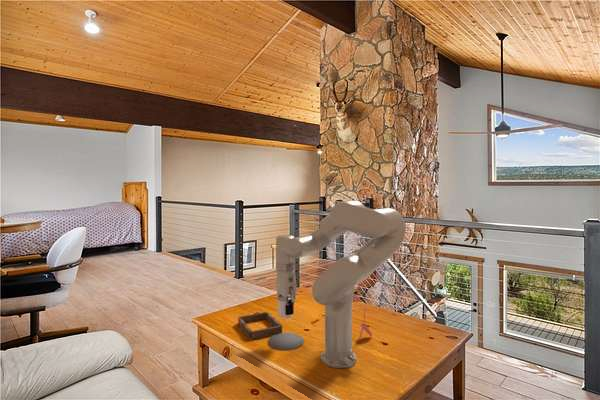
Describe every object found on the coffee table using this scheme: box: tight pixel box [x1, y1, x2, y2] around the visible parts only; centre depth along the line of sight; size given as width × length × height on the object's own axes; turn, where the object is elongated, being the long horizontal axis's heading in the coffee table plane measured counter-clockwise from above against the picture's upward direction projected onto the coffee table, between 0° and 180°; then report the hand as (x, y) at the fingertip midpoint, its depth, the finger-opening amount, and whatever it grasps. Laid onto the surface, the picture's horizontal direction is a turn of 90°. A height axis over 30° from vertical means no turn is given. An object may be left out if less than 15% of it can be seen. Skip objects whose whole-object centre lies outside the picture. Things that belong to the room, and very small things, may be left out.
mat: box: [267, 332, 305, 351], centre depth 134 cm, size 14×14×1 cm
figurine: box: [335, 248, 385, 346], centre depth 143 cm, size 15×26×35 cm, turn 41°
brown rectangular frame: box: [237, 311, 283, 341], centre depth 147 cm, size 18×14×3 cm
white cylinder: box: [276, 296, 294, 319], centre depth 134 cm, size 7×7×7 cm
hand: (285, 310), depth 134 cm, fingers closed on white cylinder, 6 cm apart
